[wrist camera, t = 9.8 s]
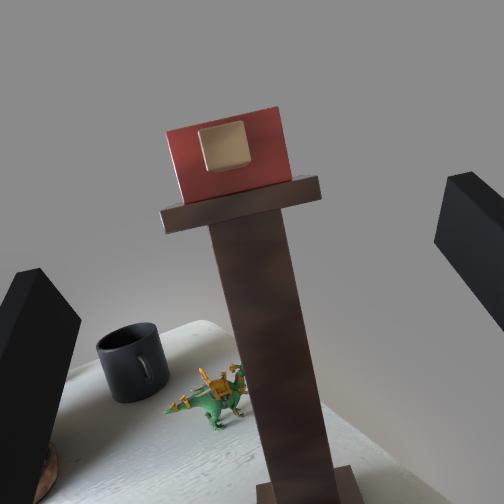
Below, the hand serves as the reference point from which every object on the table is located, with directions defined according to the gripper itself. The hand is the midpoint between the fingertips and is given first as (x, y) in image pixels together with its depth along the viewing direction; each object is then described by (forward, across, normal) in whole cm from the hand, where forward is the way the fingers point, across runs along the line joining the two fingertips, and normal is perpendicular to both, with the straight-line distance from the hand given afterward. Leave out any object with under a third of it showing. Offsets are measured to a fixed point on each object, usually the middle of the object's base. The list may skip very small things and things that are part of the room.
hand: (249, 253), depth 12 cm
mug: (+23, -22, -45) cm, 55 cm away
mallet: (+9, 0, -3) cm, 10 cm away
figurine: (+12, -9, -38) cm, 41 cm away
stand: (-1, 0, -30) cm, 30 cm away
